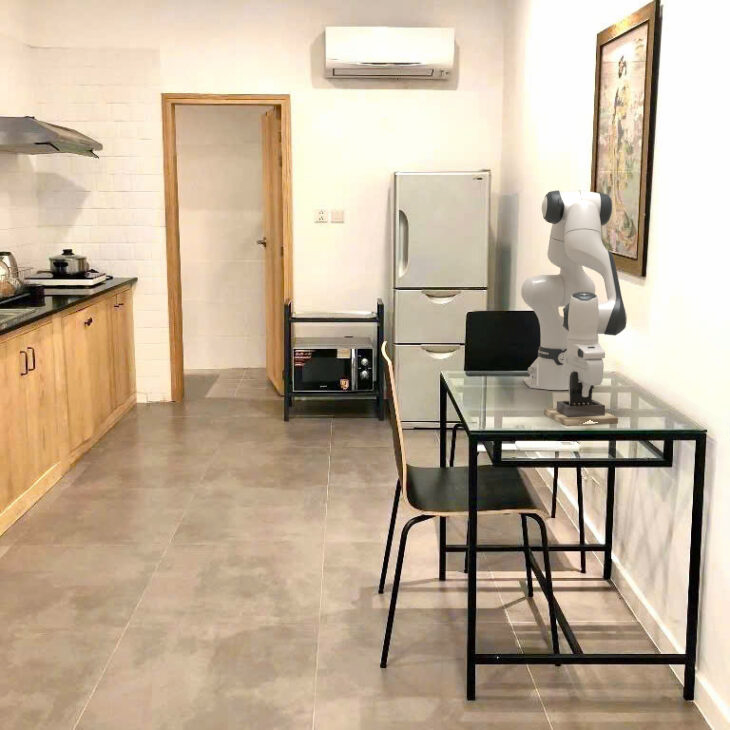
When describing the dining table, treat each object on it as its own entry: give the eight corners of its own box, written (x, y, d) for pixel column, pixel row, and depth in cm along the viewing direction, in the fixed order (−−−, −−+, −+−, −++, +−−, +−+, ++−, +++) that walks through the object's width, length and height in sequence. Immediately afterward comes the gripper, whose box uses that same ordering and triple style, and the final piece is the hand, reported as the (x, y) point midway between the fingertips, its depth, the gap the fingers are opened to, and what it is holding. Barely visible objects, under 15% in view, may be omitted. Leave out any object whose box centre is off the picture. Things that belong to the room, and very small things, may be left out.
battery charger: (572, 411, 264) (572, 372, 262) (567, 409, 267) (567, 370, 266) (595, 410, 264) (595, 371, 263) (590, 408, 268) (590, 369, 267)
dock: (544, 413, 273) (544, 399, 272) (593, 411, 276) (594, 396, 275) (565, 425, 258) (566, 410, 257) (617, 423, 261) (618, 407, 260)
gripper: (558, 343, 273) (556, 388, 275) (587, 354, 253) (585, 402, 255) (577, 342, 274) (576, 387, 276) (608, 353, 254) (606, 401, 257)
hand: (580, 394), depth 266 cm, fingers closed on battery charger, 3 cm apart
